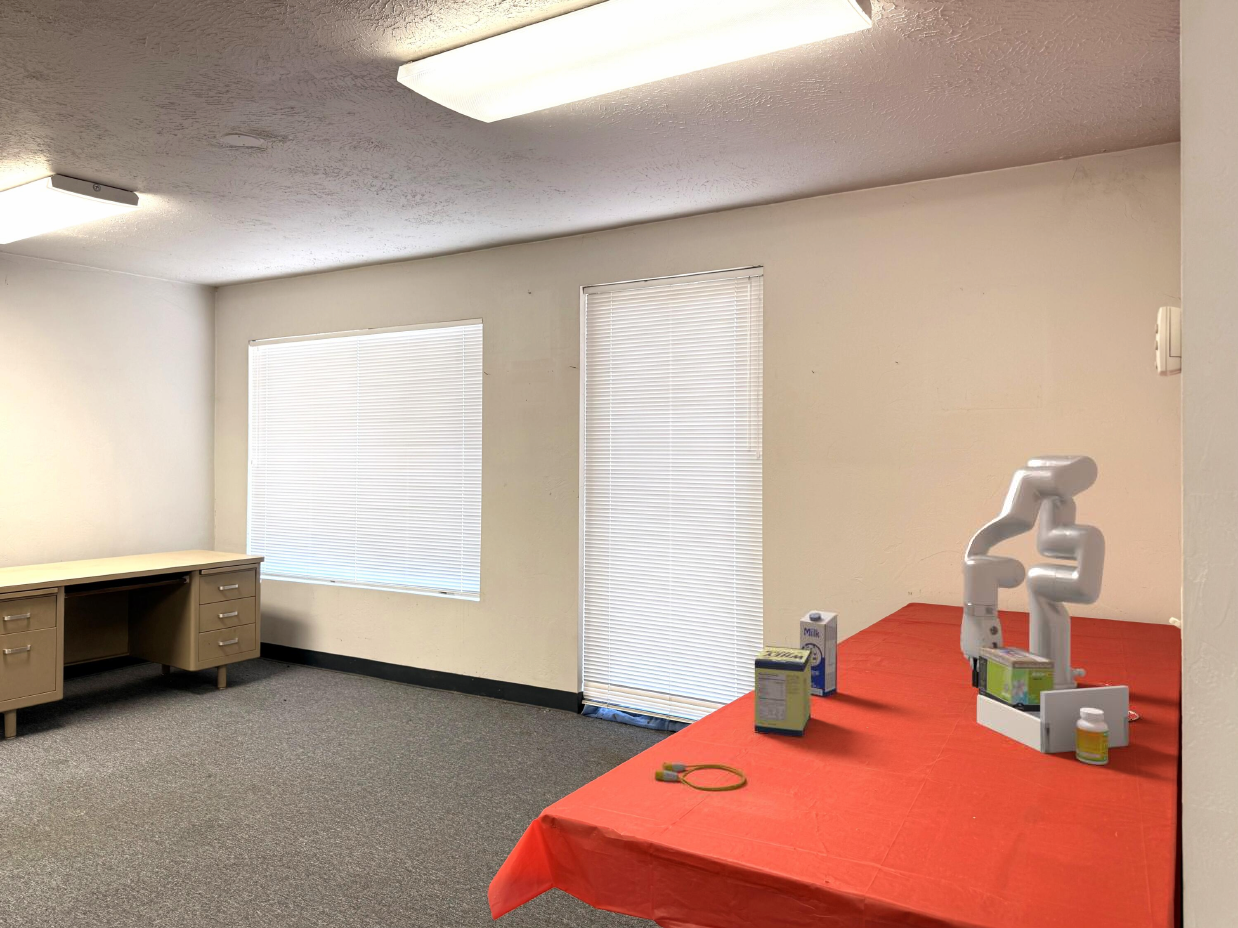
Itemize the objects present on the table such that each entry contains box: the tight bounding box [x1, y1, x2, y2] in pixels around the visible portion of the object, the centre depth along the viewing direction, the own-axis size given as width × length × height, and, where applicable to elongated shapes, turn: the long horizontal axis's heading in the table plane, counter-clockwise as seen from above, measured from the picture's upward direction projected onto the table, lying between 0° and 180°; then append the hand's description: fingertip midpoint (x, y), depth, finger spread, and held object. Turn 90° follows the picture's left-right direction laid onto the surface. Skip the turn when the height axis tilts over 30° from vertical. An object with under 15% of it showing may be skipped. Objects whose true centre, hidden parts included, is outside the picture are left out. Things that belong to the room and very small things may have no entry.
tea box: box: [977, 646, 1054, 719], centre depth 187 cm, size 15×10×15 cm, turn 4°
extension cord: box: [654, 762, 746, 791], centre depth 150 cm, size 12×16×2 cm
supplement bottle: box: [1075, 708, 1109, 766], centre depth 160 cm, size 5×5×10 cm
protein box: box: [754, 645, 812, 738], centre depth 181 cm, size 10×16×16 cm
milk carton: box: [798, 609, 838, 698], centre depth 207 cm, size 7×7×20 cm
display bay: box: [976, 685, 1130, 754], centre depth 176 cm, size 20×20×12 cm
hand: (979, 686), depth 197 cm, fingers closed
